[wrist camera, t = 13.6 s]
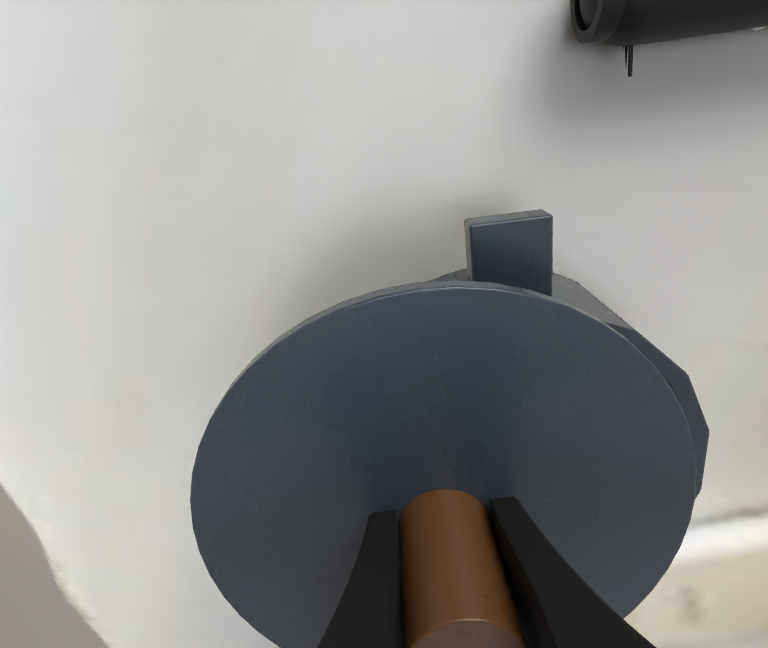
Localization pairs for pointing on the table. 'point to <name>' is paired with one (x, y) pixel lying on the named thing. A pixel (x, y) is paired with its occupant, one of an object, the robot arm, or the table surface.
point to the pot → (563, 295)
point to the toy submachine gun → (662, 20)
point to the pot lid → (440, 460)
